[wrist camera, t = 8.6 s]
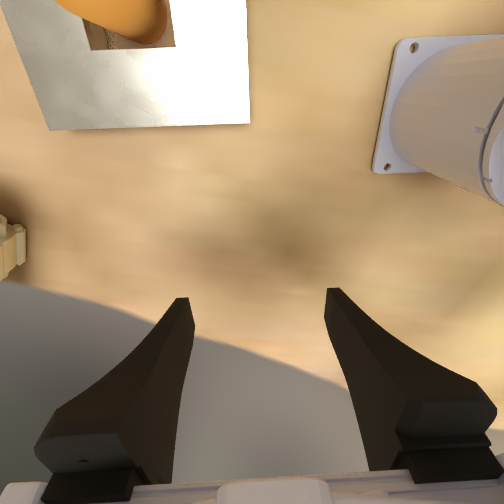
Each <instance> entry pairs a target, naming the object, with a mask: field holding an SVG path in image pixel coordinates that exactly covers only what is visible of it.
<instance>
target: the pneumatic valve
mask: <svg viewBox="0 0 504 504" xmlns="http://www.w3.org/2000/svg"><path fill="white" fill-rule="evenodd" d="M25 261H26V229H25V228H24V227H22V225H20V224H14V225H13V226H12V225H9V224H7V218H6V217H4V216H3V215H1V214H0V282H1V280H2V279H4V278H6V277H7V276H8V274H9V271H10V270H12V269H13V268H14V267H15V266H16V265H22V264H23V262H25Z"/></svg>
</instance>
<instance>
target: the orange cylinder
mask: <svg viewBox="0 0 504 504" xmlns="http://www.w3.org/2000/svg"><path fill="white" fill-rule="evenodd" d="M55 1H56V2H57V3H58V4H59V5H60V6H61V7H63V8H64V9H65V10H67V11H68V12H70V13H72V14H74V15H77V16H79V17H81V18H83V19H86V20H88V21H90V22H92V23H95V24H97V25H99V26H102V27H104V28H106V29H108V30H111V31H113V32H115V33H118V34H120V35H122V36H124V37H127V38H129V39H131V40H134V41H136V42H138V43H143V44H148V43H152V42H155V41H156V40H158V39H159V38H160V37H161V35H162V34H163V32H164V30H165V27H166V22H167V10H166V5H165V1H164V0H55Z"/></svg>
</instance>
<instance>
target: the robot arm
mask: <svg viewBox="0 0 504 504" xmlns="http://www.w3.org/2000/svg"><path fill="white" fill-rule="evenodd" d="M412 44H414V45H415V50H414V52H413V53H411V52H410V46H411V45H412ZM386 164H388V165H389V166H388V168H386V169H384V166H385V165H386ZM372 170H373V172H375V173H376V174H391V173H416V172H429V173H431V174H433V175H436V176H438V177H440V178H442V179H444V180H447V181H449V182H451V183H453V184H455V185H457V186H460V187H462V188H464V189H466V190H468V191H470V192H473V193H475V194H477V195H479V196H481V197H484V198H486V199H488V200H490V201H492V202H494V203H497V204H499V205H501V206H504V34H494V35H467V36H440V37H414V38H405V39H402V40H400V41H399V42H398V43H397V45H396V47H395V50H394V56H393V61H392V66H391V71H390V76H389V81H388V86H387V91H386V97H385V102H384V107H383V112H382V117H381V122H380V127H379V132H378V137H377V143H376V148H375V153H374V158H373V163H372ZM324 319H325V323H326V327H327V331H328V335H329V337H330V340H331V343H332V345H333V348H334V350H335V353H336V355H337V358H338V360H339V363H340V366H341V368H342V371H343V373H344V376H345V379H346V382H347V385H348V388H349V392H350V395H351V398H352V402H353V406H354V409H355V413H356V417H357V421H358V424H359V429H360V433H361V436H362V440H363V445H364V449H365V453H366V457H367V462H368V466H369V471H370V472H355V473H354V472H353V473H337V474H321V475H305V476H289V477H272V478H255V479H239V480H223V481H206V482H192V483H191V482H190V483H173V484H171V482H172V471H173V460H174V450H175V440H176V432H177V424H178V423H177V422H178V415H179V407H180V401H181V393H182V388H183V384H184V379H185V375H186V371H187V367H188V363H189V358H190V355H191V350H192V346H193V339H194V331H195V323H194V319H193V315H192V311H191V307H190V303H189V298H188V297H187V298H176V299H175V301H174V302H173V303H172V305H171V306H170V307H169V309H168V310H167V311H166V313H165V314H164V315H163V317H162V318H161V319H160V320H159V322H158V323H157V324H156V325H155V327H154V328H153V329H152V330H151V332H150V333H149V334H148V335H147V336H146V337H145V338H144V339H143V341H142V342H141V343H140V344H139V345H138V346H137V347H136V348H135V349H134V350H133V351H132V352H131V353H130V354H129V355H128V356H127V357H126V358H125V359H124V360H123V361H122V362H120V363H119V364H118V365H117V366H116V367H115V368H113V369H112V370H111V371H110V372H109V373H107V374H106V375H105V376H104V377H102V378H101V379H100V380H99V381H97V382H96V383H95V384H93V385H92V386H91V387H89V388H88V389H86V390H85V391H84V392H82V393H81V394H79V395H78V396H76V397H75V398H73V399H72V400H70V401H69V402H67V403H66V404H64V405H62V406H61V407H60V408H58V409H56V411H55V412H54V414H53V416H52V417H51V418H50V420H49V422H48V424H47V425H46V427H45V429H44V431H43V433H42V434H41V436H40V438H39V440H38V441H37V443H36V445H35V447H34V452H35V455H36V457H37V458H38V459H39V460H40V461H41V462H42V463H43V464H44V465H45V466H46V467H47V468H48V469H49V470H50V471H51V472H52V473H53V475H52V477H51V479H50V481H49V483H48V484H47V483H44V482H23V483H10V484H8V485H7V486H6V488H5V489H4V491H3V493H2V494H1V496H0V504H504V453H502V454H499V455H497V456H494V454H493V453H492V451H491V450H490V448H489V446H491V442H490V440H489V439H488V437H487V436H486V434H485V431H486V430H487V429H488V428H489V426H490V425H491V424H492V422H493V421H494V420H495V418H496V416H497V408H496V406H495V405H494V404H493V402H492V401H491V400H490V399H489V397H488V396H487V395H486V393H485V392H484V391H483V390H482V389H481V387H480V386H479V385H478V384H477V383H476V382H474V381H472V380H470V379H468V378H466V377H463V376H461V375H459V374H457V373H455V372H453V371H451V370H449V369H447V368H445V367H443V366H441V365H439V364H437V363H435V362H434V361H432V360H430V359H428V358H426V357H425V356H423V355H421V354H420V353H418V352H416V351H415V350H413V349H412V348H410V347H408V346H407V345H405V344H404V343H402V342H401V341H399V340H398V339H397V338H395V337H394V336H392V335H391V334H390V333H388V332H387V331H386V330H384V329H383V328H382V327H381V326H380V325H378V324H377V323H376V322H375V321H374V320H372V319H371V318H370V317H369V316H368V315H367V314H366V313H365V312H364V311H362V310H361V309H360V308H359V307H358V306H357V305H356V304H355V303H354V302H353V301H352V300H351V299H350V298H349V297H348V296H347V295H346V294H345V293H344V292H343V291H342V290H341V289H340V288H327V294H326V304H325V313H324Z"/></svg>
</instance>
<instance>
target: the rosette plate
mask: <svg viewBox="0 0 504 504" xmlns="http://www.w3.org/2000/svg"><path fill="white" fill-rule="evenodd" d="M169 1H170V8H171V15H172V22H173V29H174V36H175V43H176V47H172V48H145V49H118V50H109V47H108V43H107V39H106V35H105V31H104V27H102V26H99V25H97V24H95V23H92V22H90V21H88V20H86V19H83V18H81V17H79V16H77V15H74V14H72V13H70V12H68V11H67V10H65V9H64V8H63V7H61V6H60V5H59V4H58V3H57V2H56V1H55V0H0V6H1V8H2V11H3V13H4V16H5V18H6V21H7V23H8V26H9V29H10V31H11V34H12V36H13V39H14V41H15V44H16V46H17V49H18V52H19V54H20V57H21V59H22V62H23V64H24V67H25V69H26V72H27V75H28V77H29V80H30V82H31V85H32V87H33V90H34V92H35V95H36V98H37V100H38V103H39V105H40V108H41V110H42V113H43V115H44V118H45V121H46V123H47V126H48V128H49V131H55V130H80V129H105V128H130V127H156V126H181V125H206V124H231V123H250V115H249V85H248V56H247V26H246V0H169Z"/></svg>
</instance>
